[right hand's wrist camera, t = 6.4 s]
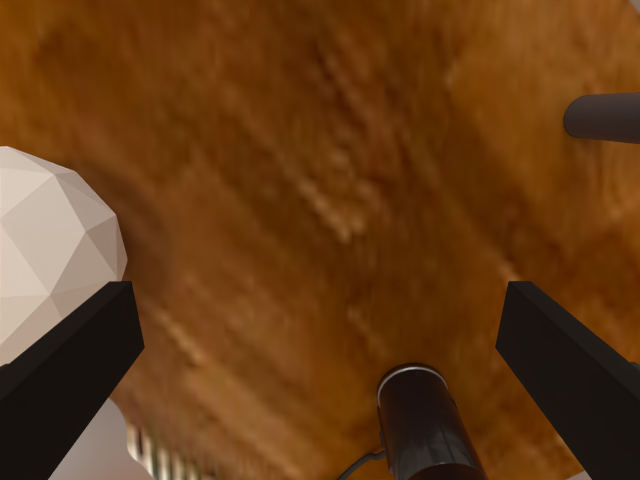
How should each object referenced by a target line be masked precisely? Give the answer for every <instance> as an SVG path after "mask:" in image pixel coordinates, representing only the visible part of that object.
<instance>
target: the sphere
mask: <svg viewBox="0 0 640 480" xmlns="http://www.w3.org/2000/svg"><path fill="white" fill-rule="evenodd" d="M127 261H128V259H127V255H126V251H125V247H124V244H123V240H122V236H121V232H120V228H119V224H118V220H117V216H116V214H115V213H114V212H113V211H112V210H111V209H110V208H109V207H108V206H107V205H106V203H105V202H104V201H103V200H102V199H101V198H100V197H99V196H98V195H97V194H96V193H95V192H94V191H93V190H92V188H91V187H90V186H89V185H88V184H87V183H86V182H85V181H84V180H83V179H82V178H81V177H80V176H79V175H78V174H77V172H75V171H73V170H70V169H67V168H65V167H62V166H59V165H57V164H54V163H51V162H49V161H46V160H43V159H40V158H38V157H35V156H32V155H30V154H27V153H24V152H22V151H19V150H16V149H14V148H11V147H8V146H5V147H0V366H2V365H4V364H9V363H10V362H12V361H13V360H14V359H15V358H17V357H18V356H19V355H20V354H21V353H23V352H24V351H25V350H26V349H27V348H29V347H30V346H31V345H32V344H34V343H35V342H36V341H37V340H38V339H40V338H41V337H42V336H43V335H45V334H46V333H47V332H48V331H49V330H51V329H52V328H53V327H54V326H55V325H57V324H58V323H59V322H60V321H62V320H63V319H64V318H65V317H66V316H68V315H69V314H70V313H71V312H73V311H74V310H75V309H76V308H77V307H79V306H80V305H81V304H82V303H84V302H85V301H86V300H87V299H88V298H90V297H91V296H92V295H93V294H94V293H96V292H97V291H98V290H99V289H101V288H102V287H103V286H104V285H105V284H107V283H108V282H109V281H122V277H123V274H124V271H125V267H126V264H127Z"/></svg>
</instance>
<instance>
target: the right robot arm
mask: <svg viewBox="0 0 640 480" xmlns="http://www.w3.org/2000/svg"><path fill="white" fill-rule="evenodd" d="M144 348H145V346H144V341H143V336H142V331H141V326H140V321H139V317H138V312H137V307H136V302H135V297H134V292H133V287H132V282H131V281H109V282H108V283H107V284H105V285H104V286H103V287H102V288H101V289H99V290H98V291H97V292H96V293H94V294H93V295H92V296H91V297H90V298H88V299H87V300H86V301H85V302H84V303H82V304H81V305H80V306H79V307H77V308H76V309H75V310H74V311H73V312H71V313H70V314H69V315H68V316H66V317H65V318H64V319H63V320H62V321H60V322H59V323H58V324H57V325H55V326H54V327H53V328H52V329H51V330H49V331H48V332H47V333H46V334H45V335H43V336H42V337H41V338H40V339H38V340H37V341H36V342H35V343H34V344H32V345H31V346H30V347H29V348H27V349H26V350H25V351H24V352H23V353H21V354H20V355H19V356H18V357H17V358H15V359H14V360H13V361H12V362H10V363H9V364H4V365H2V366H0V480H48V479H49V477H50V476H51V475H52V473H53V472H54V471H55V469H56V468H57V466H58V465H59V464H60V462H61V461H62V460H63V458H64V457H65V456H66V454H67V453H68V451H69V450H70V449H71V447H72V446H73V445H74V443H75V442H76V441H77V439H78V438H79V436H80V435H81V434H82V432H83V431H84V430H85V428H86V427H87V426H88V424H89V423H90V421H91V420H92V419H93V417H94V416H95V415H96V413H97V412H98V410H99V409H100V408H101V406H102V405H103V404H104V402H105V401H106V400H107V398H108V397H109V396H110V394H111V393H112V391H113V390H114V389H115V387H116V386H117V385H118V383H119V382H120V381H121V379H122V378H123V376H124V375H125V374H126V372H127V371H128V370H129V368H130V367H131V366H132V364H133V363H134V361H135V360H136V359H137V357H138V356H139V355H140V353H141V352H142V351H143V349H144ZM495 348H496V349H497V351H498V352H499V353H500V355H501V356H502V357H503V359H504V360H505V361H506V363H507V364H508V366H509V367H510V368H511V370H512V371H513V372H514V374H515V375H516V376H517V378H518V379H519V381H520V382H521V383H522V385H523V386H524V387H525V389H526V390H527V391H528V393H529V394H530V396H531V397H532V398H533V400H534V401H535V402H536V404H537V405H538V406H539V408H540V409H541V411H542V412H543V413H544V415H545V416H546V417H547V419H548V420H549V421H550V423H551V424H552V426H553V427H554V428H555V430H556V431H557V432H558V434H559V435H560V436H561V438H562V439H563V441H564V442H565V443H566V445H567V446H568V447H569V449H570V450H571V451H572V453H573V454H574V456H575V457H576V458H577V460H578V461H579V462H580V464H581V465H582V466H583V468H584V469H585V471H586V472H587V473H588V475H589V476H590V477H591V479H592V480H640V365H639V364H637V363H635V362H628V361H627V360H626V359H625V358H623V357H622V356H621V355H620V354H619V353H617V352H616V351H615V350H614V349H613V348H611V347H610V346H609V345H608V344H606V343H605V342H604V341H603V340H602V339H600V338H599V337H598V336H597V335H595V334H594V333H593V332H592V331H591V330H589V329H588V328H587V327H586V326H585V325H583V324H582V323H581V322H580V321H578V320H577V319H576V318H575V317H574V316H572V315H571V314H570V313H569V312H567V311H566V310H565V309H564V308H563V307H561V306H560V305H559V304H558V303H556V302H555V301H554V300H553V299H552V298H550V297H549V296H548V295H547V294H546V293H544V292H543V291H542V290H541V289H539V288H538V287H537V286H536V285H535V284H533V283H532V282H531V281H509V282H508V287H507V292H506V297H505V302H504V307H503V312H502V317H501V321H500V326H499V331H498V336H497V341H496V346H495Z"/></svg>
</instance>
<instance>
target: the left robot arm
mask: <svg viewBox="0 0 640 480" xmlns="http://www.w3.org/2000/svg"><path fill="white" fill-rule="evenodd" d="M377 398H378V403H379V405H378V407H377V411H378V416H379V421H380V427H381V431H380V438H381V444H382V449H383V451H382V452H380V453H378V454H373V453H371V454H368V455H366V456H364V457H362V458H361V459H360V460H358V461H357V462H356V463H354V464H353V465H352V466H351V467H350V468H349V469H347V470H346V471H345V472H344V473H343V474H342V475H341V477H340V478H339V479H338V480H345V479H346V478H347V477H348V476H349V475H350V474H351V473H352V472H353V471H354V470H355V469H357V468H358V467H359V466H361V465H362V464H363V463H365V462H366V461H368V460H370V459H374V460H379V459H381V458H383V457H385V456H386V458H387V463H388V469H389V471H390V472H391V473H392V474H393V475H394V480H489V479H488V477H487V475H486V472H485V470H484V468H483V466H482V464H481V461H480V459H479V457H478V455H477V453H476V450H475V448H474V446H473V444H472V442H471V439H470V437H469V435H468V433H467V431H466V428H465V426H464V424H463V422H462V420H461V417H460V415H459V412H458V410H457V409H456V408H457V407H456V404H454V403H455V401H454V402H453V400H454V399H453V400H452V398H453V397H452V398H451V395H450V393H449V391H448V387H447V385H446V383H445V380H444V378H443V377H442V375H441V374H440V373H439V372H438V371H437V370H435V369H434V368H432V367H430V366H427V365H424V364H417V363H412V364H405V365H401V366H398V367H396V368H394V369H392V370H391V371H389V372H388V373H387V374H386V375H385V376H384V377H383V378H382V379H381V381H380V383H379V385H378V388H377Z"/></svg>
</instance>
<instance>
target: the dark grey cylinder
mask: <svg viewBox="0 0 640 480" xmlns="http://www.w3.org/2000/svg"><path fill="white" fill-rule="evenodd" d="M564 126H565V129H566V131H567V132H568V133H569V134H570V135H572V136H574V137H580V138H589V139H598V140H606V141H615V142H624V143H633V144H640V92H639V93H619V94H599V95H585V96H582V97H580V98H578V99H576V100H575V101H574V102H573V103H571V105H570V106H569V107H568V109H567V111H566V113H565V116H564Z"/></svg>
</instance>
